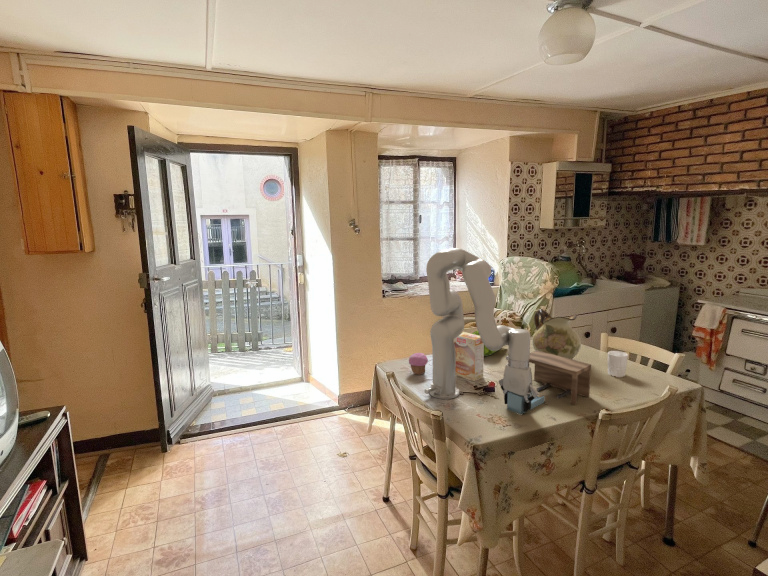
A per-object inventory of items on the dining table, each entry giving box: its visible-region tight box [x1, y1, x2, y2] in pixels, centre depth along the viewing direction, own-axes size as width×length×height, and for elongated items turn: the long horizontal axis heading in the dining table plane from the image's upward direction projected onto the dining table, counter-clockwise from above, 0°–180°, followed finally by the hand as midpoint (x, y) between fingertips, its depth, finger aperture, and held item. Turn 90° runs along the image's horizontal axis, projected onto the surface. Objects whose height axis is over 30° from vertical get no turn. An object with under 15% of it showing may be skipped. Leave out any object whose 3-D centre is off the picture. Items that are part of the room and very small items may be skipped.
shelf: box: [529, 350, 592, 406], centre depth 172 cm, size 12×24×14 cm, turn 39°
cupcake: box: [408, 352, 429, 376], centre depth 195 cm, size 9×9×10 cm
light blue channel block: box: [506, 391, 546, 416], centre depth 160 cm, size 16×6×7 cm, turn 129°
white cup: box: [607, 350, 629, 378], centre depth 189 cm, size 8×8×10 cm
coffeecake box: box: [454, 331, 485, 382], centre depth 191 cm, size 15×7×20 cm, turn 42°
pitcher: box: [531, 308, 582, 360], centre depth 207 cm, size 22×24×25 cm
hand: (517, 406), depth 157 cm, fingers open, 7 cm apart
